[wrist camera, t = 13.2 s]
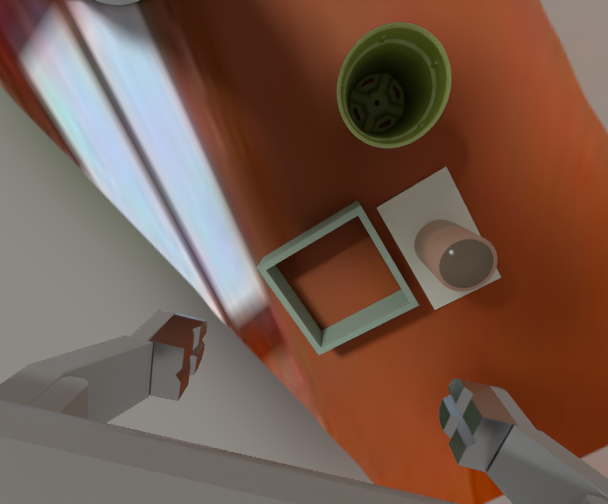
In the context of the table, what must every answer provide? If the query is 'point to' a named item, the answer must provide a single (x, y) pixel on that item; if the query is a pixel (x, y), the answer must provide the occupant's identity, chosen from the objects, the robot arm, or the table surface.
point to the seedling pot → (456, 255)
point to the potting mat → (416, 214)
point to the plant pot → (394, 72)
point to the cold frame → (353, 323)
